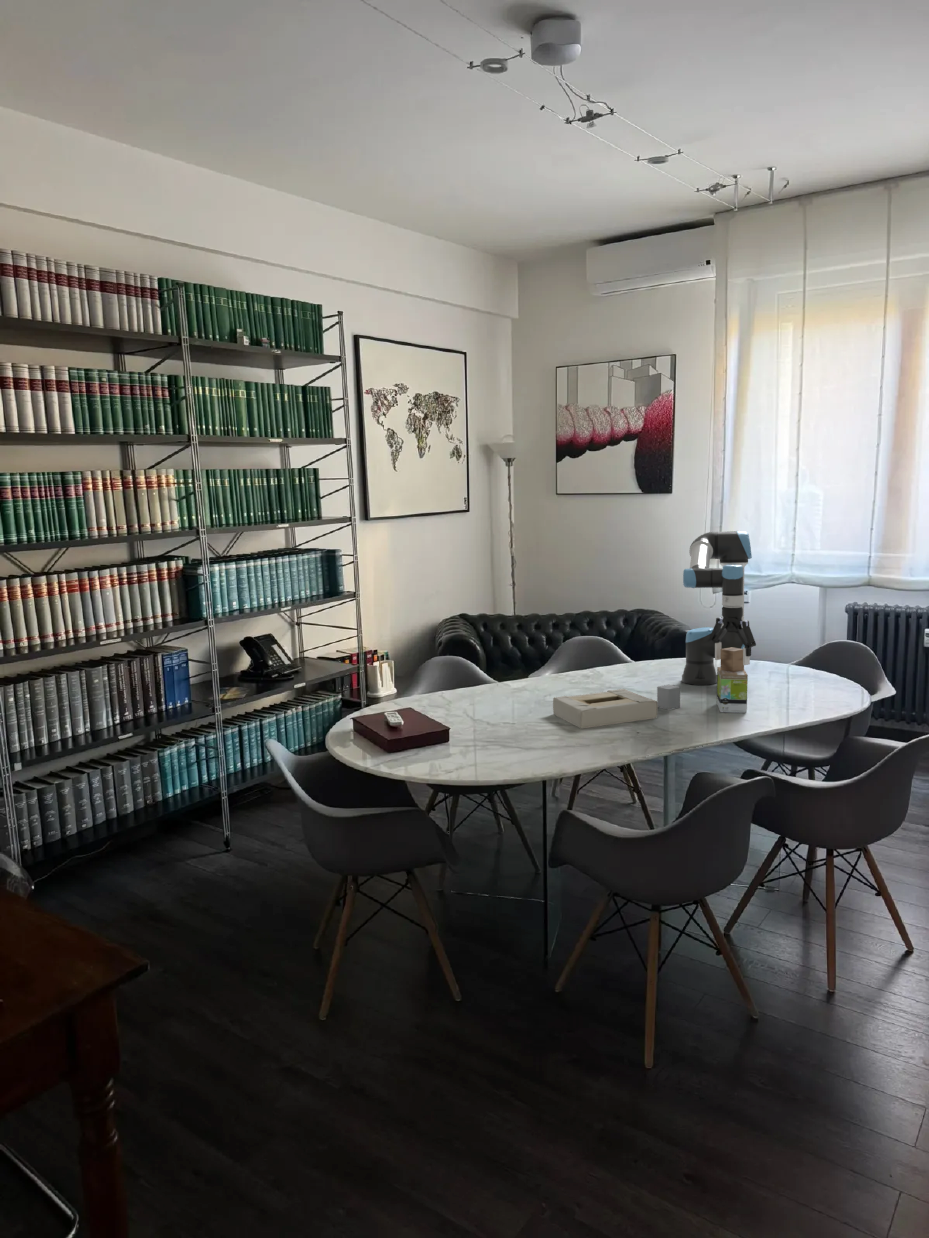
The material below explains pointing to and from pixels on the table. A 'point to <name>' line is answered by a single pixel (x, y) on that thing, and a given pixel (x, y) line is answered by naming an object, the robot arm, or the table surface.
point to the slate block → (668, 697)
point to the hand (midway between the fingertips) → (732, 662)
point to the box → (604, 708)
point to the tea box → (732, 691)
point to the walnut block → (732, 659)
